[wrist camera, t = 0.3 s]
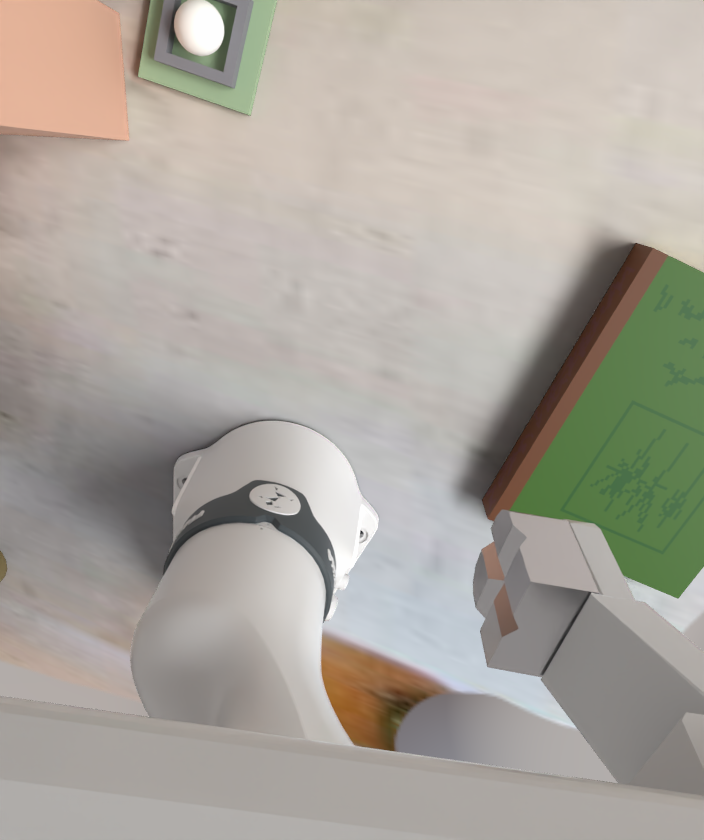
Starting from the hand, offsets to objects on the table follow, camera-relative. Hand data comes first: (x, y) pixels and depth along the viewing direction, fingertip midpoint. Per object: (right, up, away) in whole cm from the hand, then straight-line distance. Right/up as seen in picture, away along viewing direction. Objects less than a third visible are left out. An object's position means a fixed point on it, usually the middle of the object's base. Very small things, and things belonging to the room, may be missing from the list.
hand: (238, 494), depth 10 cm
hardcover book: (+27, +1, +44) cm, 51 cm away
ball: (-8, +27, +33) cm, 44 cm away
